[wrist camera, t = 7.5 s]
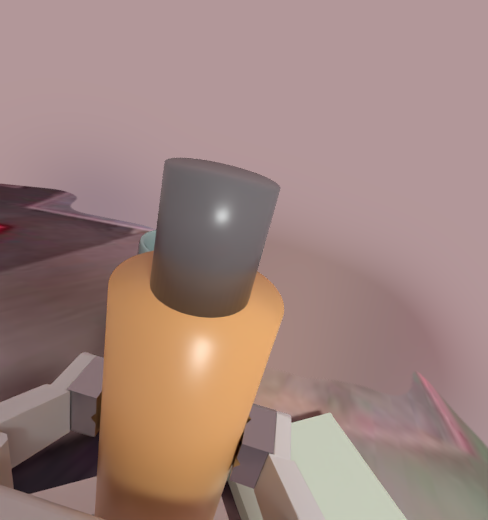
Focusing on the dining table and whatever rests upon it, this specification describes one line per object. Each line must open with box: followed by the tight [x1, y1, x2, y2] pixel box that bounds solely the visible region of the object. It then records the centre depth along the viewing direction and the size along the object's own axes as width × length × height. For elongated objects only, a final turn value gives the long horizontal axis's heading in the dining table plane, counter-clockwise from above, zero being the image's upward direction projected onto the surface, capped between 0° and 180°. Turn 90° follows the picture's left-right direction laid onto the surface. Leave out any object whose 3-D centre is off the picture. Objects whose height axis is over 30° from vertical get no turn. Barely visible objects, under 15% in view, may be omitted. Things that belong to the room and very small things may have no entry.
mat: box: [227, 413, 407, 520], centre depth 20 cm, size 12×10×1 cm
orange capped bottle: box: [95, 158, 284, 520], centre depth 10 cm, size 4×4×15 cm
